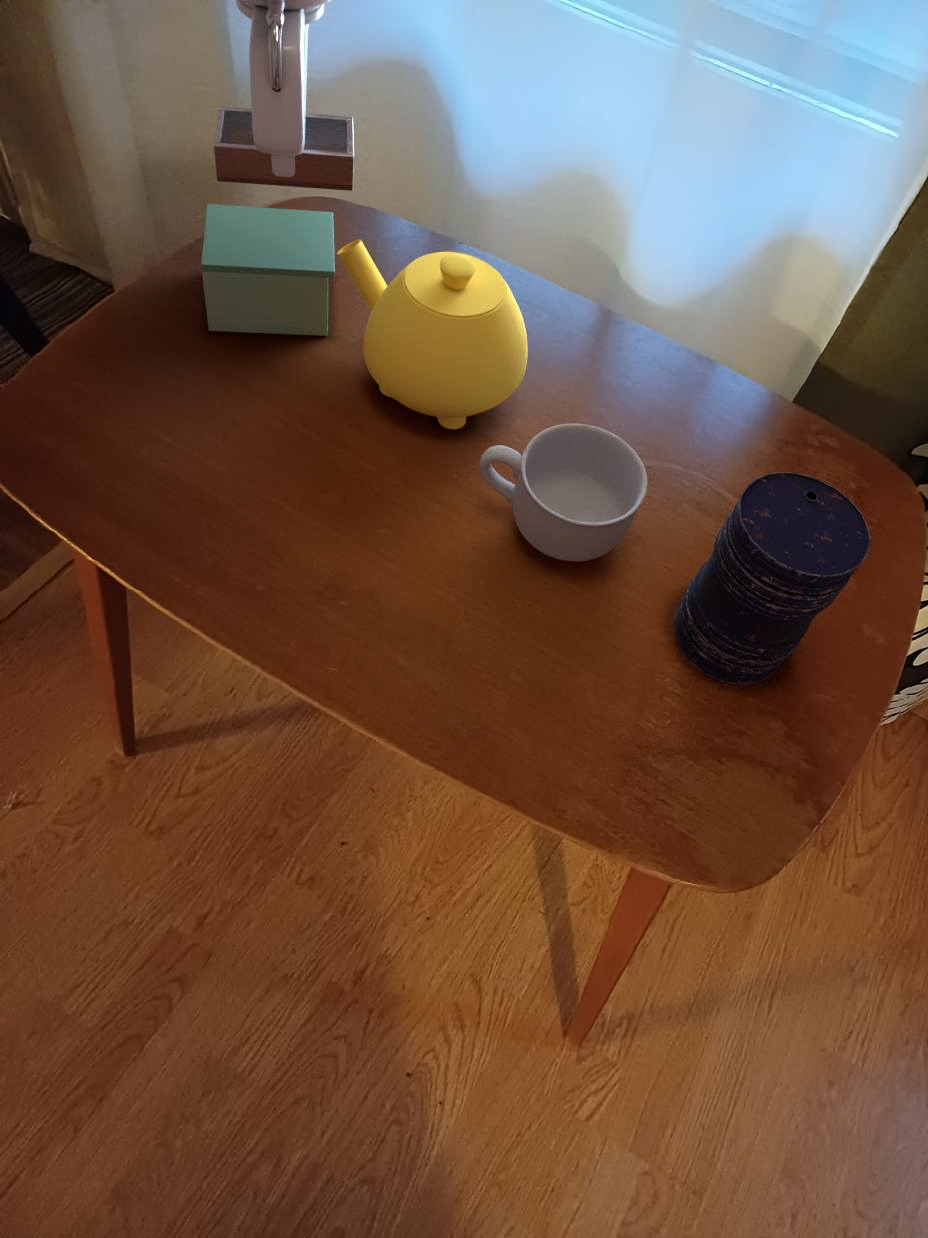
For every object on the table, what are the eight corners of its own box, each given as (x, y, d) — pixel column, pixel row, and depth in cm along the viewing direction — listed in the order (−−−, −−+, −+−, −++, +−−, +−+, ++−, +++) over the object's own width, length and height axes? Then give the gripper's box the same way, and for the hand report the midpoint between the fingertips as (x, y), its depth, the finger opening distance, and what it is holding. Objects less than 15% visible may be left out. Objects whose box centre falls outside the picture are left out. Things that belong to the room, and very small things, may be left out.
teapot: (292, 371, 90) (288, 245, 78) (383, 294, 98) (391, 170, 87) (466, 466, 86) (489, 348, 74) (546, 377, 94) (577, 259, 83)
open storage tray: (216, 181, 75) (213, 145, 73) (221, 141, 79) (218, 105, 76) (352, 191, 77) (354, 156, 74) (352, 151, 80) (353, 116, 78)
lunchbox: (326, 276, 98) (326, 217, 93) (327, 336, 93) (328, 277, 88) (214, 270, 97) (207, 210, 91) (208, 331, 91) (201, 271, 86)
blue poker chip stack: (772, 704, 75) (861, 598, 63) (658, 657, 76) (723, 543, 64) (794, 615, 81) (880, 501, 68) (688, 572, 82) (753, 452, 70)
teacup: (638, 515, 85) (665, 453, 78) (599, 599, 79) (624, 540, 72) (501, 456, 87) (516, 391, 80) (452, 533, 81) (464, 470, 74)
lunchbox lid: (333, 218, 93) (333, 211, 92) (334, 278, 88) (334, 271, 87) (207, 209, 91) (206, 203, 90) (201, 270, 86) (200, 264, 85)
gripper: (323, 29, 60) (323, 223, 71) (324, -99, 71) (324, 86, 82) (223, 20, 59) (239, 218, 70) (240, -109, 70) (251, 80, 81)
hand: (285, 146), depth 76 cm, fingers closed on open storage tray, 6 cm apart
